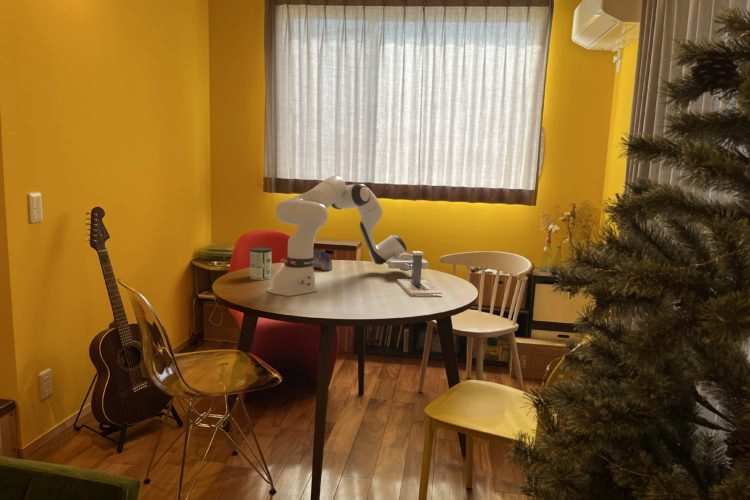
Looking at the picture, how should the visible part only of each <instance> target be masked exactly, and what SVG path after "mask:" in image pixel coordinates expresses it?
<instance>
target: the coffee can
mask: <svg viewBox="0 0 750 500" xmlns="http://www.w3.org/2000/svg"><path fill="white" fill-rule="evenodd" d="M272 253H273V248H271V247H270V246H269V247H268V246H254V247H250V248H249V279H252V280H256V281H258V280H259V281H266V280H270V279H272V265H273V264H272V263H273V262H272V260H273V259H272V258H273V257H272V255H273V254H272Z"/></svg>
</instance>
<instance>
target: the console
mask: <svg viewBox="0 0 750 500" xmlns="http://www.w3.org/2000/svg"><path fill="white" fill-rule="evenodd" d="M411 280H412V278H409V279H408V278H397V279H396V283H397V282H398V283H399V284H400V285H401V286H402V287H403V288H404V289H405V290H406V291H407V292H408V293H409V294H410V295H430V294H431V295H433V294H442V295H443V292H441V291H440V290H439V289H438V288H437V287H435V286H434V285H433V284H432V283H430V282H429V281H428V280H427V279H425V278H423V279H422V278H421V283H420V286H422V287H423V288H424V289H425V290H427V291H425V290H419V289H418V287H415V286H414V285H413V284H412V283H411ZM398 283H397V284H398ZM399 284H398V285H399ZM400 285H399V286H400ZM401 286H400V287H401ZM402 287H401V288H402ZM403 288H402V289H403ZM404 289H403V290H404ZM405 290H404V291H405ZM406 291H405V292H406ZM407 292H406V293H407ZM408 293H407V294H408ZM409 294H408V295H409ZM410 295H409V296H410Z"/></svg>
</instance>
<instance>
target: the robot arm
mask: <svg viewBox="0 0 750 500" xmlns="http://www.w3.org/2000/svg"><path fill="white" fill-rule="evenodd" d="M330 207H332V208H333V209H335V210H342V209H344V210H345V209H354V208H356V210H358V212H359V215H360V222H359V228H360V231H361V234H362V237H363V239H364V242H365V244H366V248H367V249H368V252H369V257H370V259H371V261H372V262H373V263H374V264H375V265H379V266H380V265H384V264H386V265H387V268H388V269H398V270H400V271H403V272H407V271H412V263H413V254H412V253H407V245H406V243H405V242H404V241H403V239H402V238H401V237H400V236H398V235H396V234H391V235H389V236H388V237H387V238H385V239H384V240H381V242H379V243H378V244H376V243H375V241H374V238H373V233H372V232H373V231H374V229H375V227H376V226H377V224H378V223H379V222H380V220H381V218H382V216H383V208H382V205H381V203H380V202H379V200H378V198H377V196H376V195H375V194H374V193H373V191H371V189H370V188H369V187H368V186H366V184H363V183H355V184H347V185H346V182H345V180H344V179H343V178H342V177H341V176H340V175H339V176H338V175H333V176H330V177H328V178H326V179H324V180H322V181H321V182H320V183H318V184H317V185H315V186H314V187H313V188H312V189H310V190H308V191H306V192H303V193H301V194H299V195H297V196H293V197H292V198H287V199H283V200H280V202H278V204H277V205H276V207H275V215H276V218H277V220H278V221H280V222H282V223H284V224H287V225H293V226H297V228H296V231H295V234H292V235H290V236H289V238H288V240H287V256H286V258H281V259H280V263H281V264H284V266H283V267H282V268H281V269H280V270H279V272H278V273H276V274H275V276H274V277H273V279H272V286H271V287H267V289H266V292H267V293H270V294H274V295H278V296H285V297H286V296H287V297H292V296H297V295H303V294H308V293H316V292H317V288H316V280H315V279H316V278H315V277H316V276H315V270H314V268H313V265H314V257H313V252H314V245H315V244H314V243H315V239H316V235H317V233H318V232H319V230H320V228H321V227H323V226H324V225H326V222H327V221H328V218H329V213H328V209H329V208H330ZM427 269H429V262H428V260H427V259H425V258H423V257H422V266H421V270H427Z"/></svg>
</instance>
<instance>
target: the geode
mask: <svg viewBox="0 0 750 500" xmlns="http://www.w3.org/2000/svg"><path fill="white" fill-rule="evenodd" d="M332 256H333V254H329V253H328V252H327V253H326V252H324V251H322V250H319V249H316V250H314V251H313V257H314V265H313V269H317V270H320V271H321V272H331V271H332V270H333V259H332Z"/></svg>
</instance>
